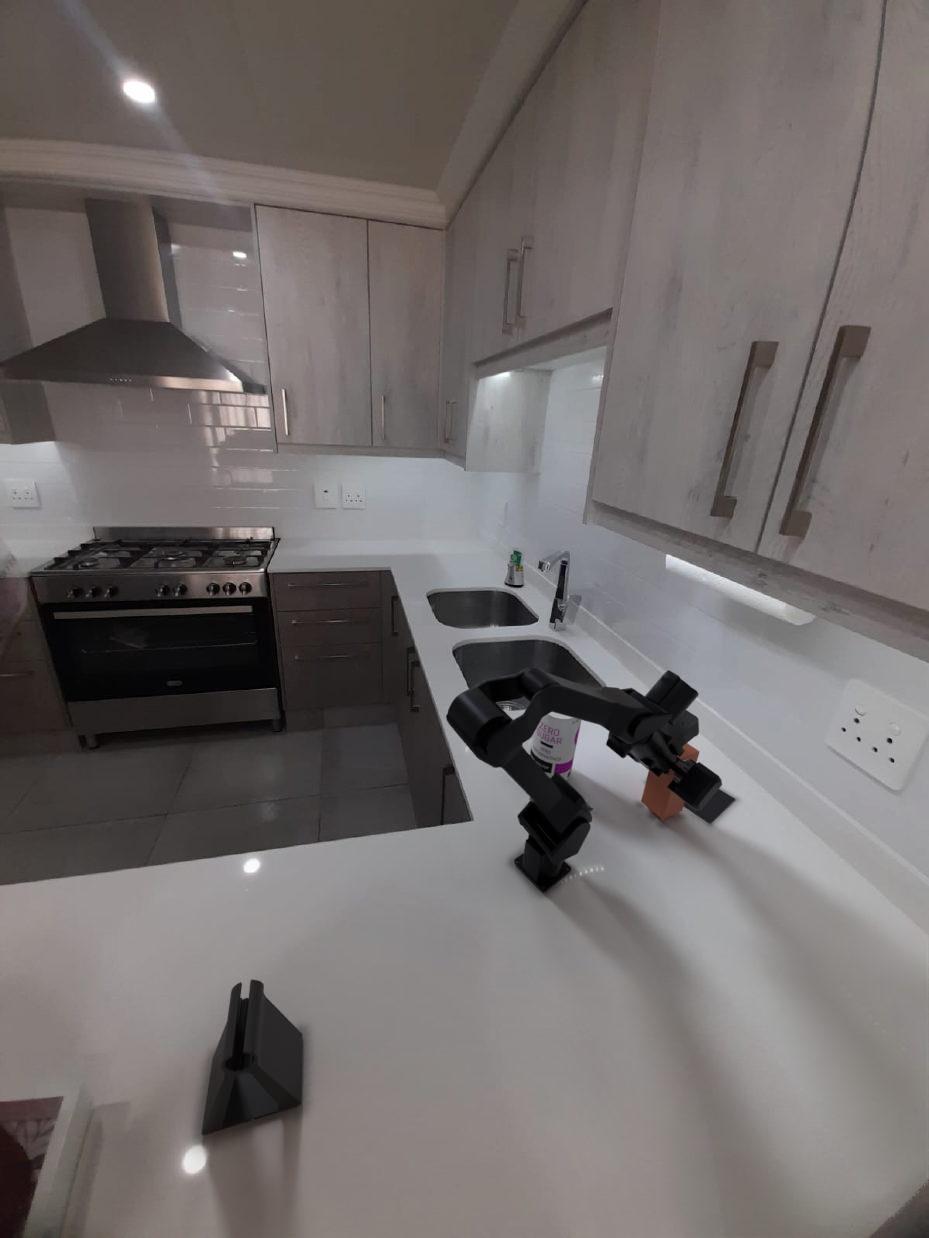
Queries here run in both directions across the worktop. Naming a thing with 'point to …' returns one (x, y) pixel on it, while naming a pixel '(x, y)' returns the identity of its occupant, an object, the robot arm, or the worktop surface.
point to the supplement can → (555, 744)
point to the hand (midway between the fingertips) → (675, 774)
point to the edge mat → (713, 806)
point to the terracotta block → (666, 789)
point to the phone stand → (253, 1063)
